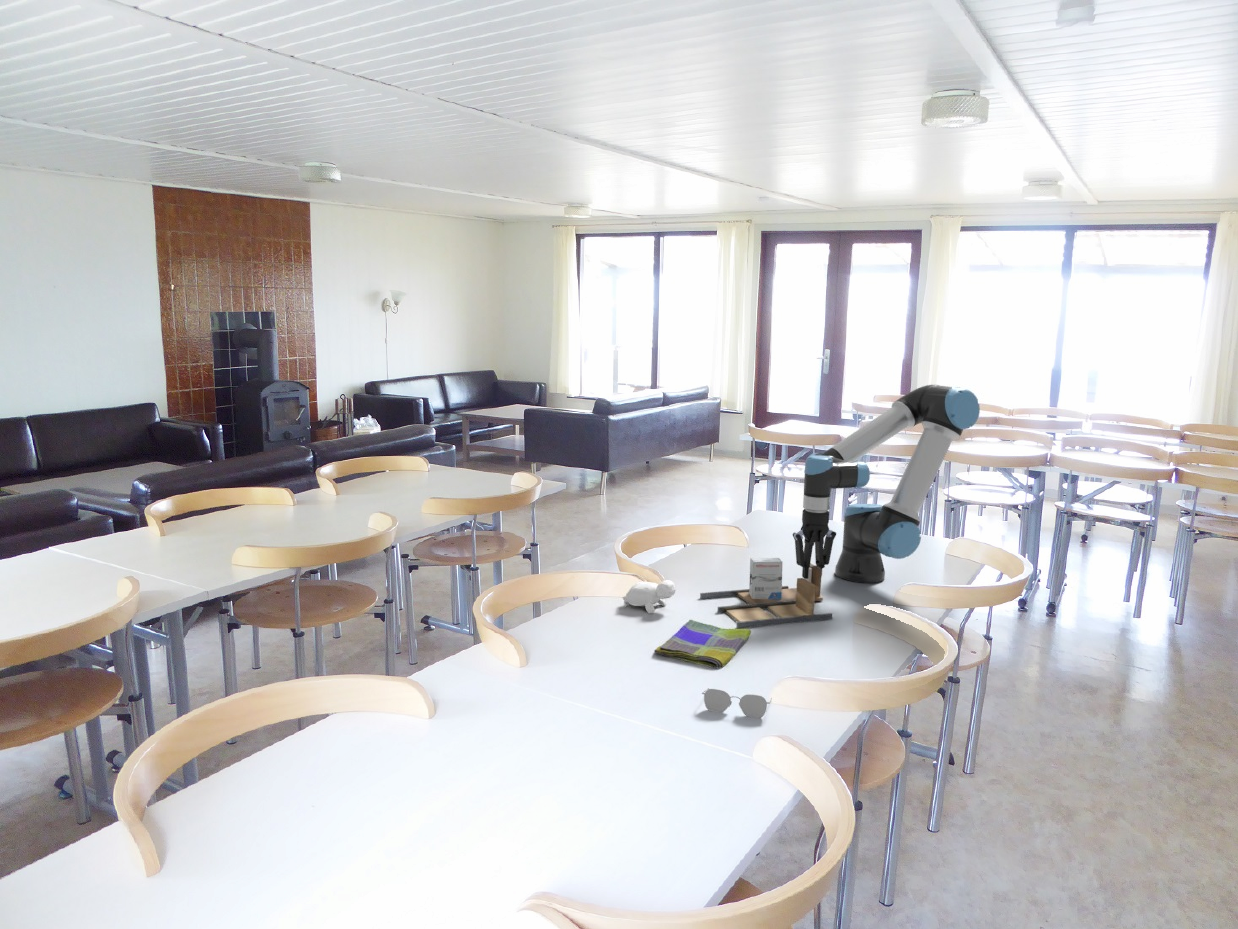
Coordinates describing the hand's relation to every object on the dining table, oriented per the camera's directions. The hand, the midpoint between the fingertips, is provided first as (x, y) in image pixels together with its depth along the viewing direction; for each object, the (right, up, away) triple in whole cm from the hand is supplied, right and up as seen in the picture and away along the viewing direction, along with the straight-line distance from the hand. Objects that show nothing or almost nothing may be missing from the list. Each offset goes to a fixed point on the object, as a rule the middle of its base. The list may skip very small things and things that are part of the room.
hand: (811, 588), depth 246 cm
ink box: (-14, -3, -4) cm, 15 cm away
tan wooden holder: (-10, -3, -3) cm, 10 cm away
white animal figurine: (-47, -4, -12) cm, 49 cm away
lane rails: (-16, -4, -11) cm, 19 cm away
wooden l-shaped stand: (-15, -5, -17) cm, 23 cm away
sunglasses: (-31, -15, -70) cm, 78 cm away
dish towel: (-35, -9, -38) cm, 53 cm away
